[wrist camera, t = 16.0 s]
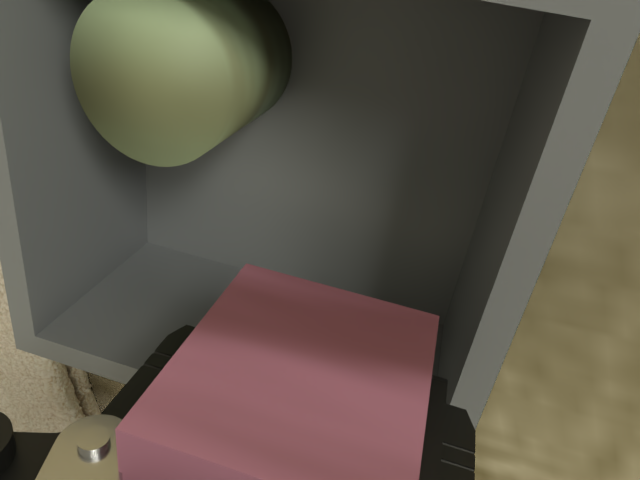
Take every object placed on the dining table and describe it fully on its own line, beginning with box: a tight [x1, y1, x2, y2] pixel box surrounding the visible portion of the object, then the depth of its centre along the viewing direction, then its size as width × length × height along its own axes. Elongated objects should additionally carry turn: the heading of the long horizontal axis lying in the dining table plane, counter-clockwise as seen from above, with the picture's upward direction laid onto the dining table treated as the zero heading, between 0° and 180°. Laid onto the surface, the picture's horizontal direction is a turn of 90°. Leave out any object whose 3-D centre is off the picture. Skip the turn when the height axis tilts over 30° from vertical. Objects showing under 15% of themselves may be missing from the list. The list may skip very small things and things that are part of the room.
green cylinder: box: [70, 0, 292, 167], centre depth 15 cm, size 4×4×5 cm
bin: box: [0, 0, 640, 429], centre depth 16 cm, size 13×14×7 cm
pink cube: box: [115, 263, 439, 480], centre depth 11 cm, size 4×4×5 cm
